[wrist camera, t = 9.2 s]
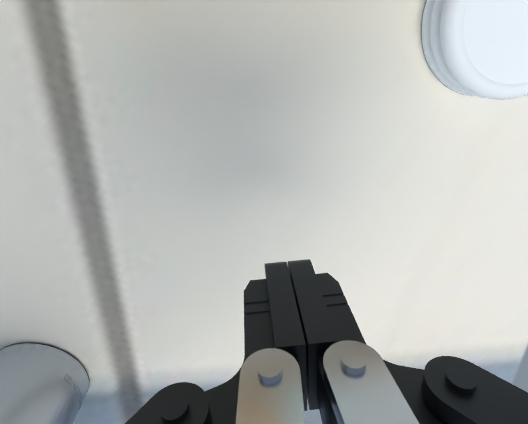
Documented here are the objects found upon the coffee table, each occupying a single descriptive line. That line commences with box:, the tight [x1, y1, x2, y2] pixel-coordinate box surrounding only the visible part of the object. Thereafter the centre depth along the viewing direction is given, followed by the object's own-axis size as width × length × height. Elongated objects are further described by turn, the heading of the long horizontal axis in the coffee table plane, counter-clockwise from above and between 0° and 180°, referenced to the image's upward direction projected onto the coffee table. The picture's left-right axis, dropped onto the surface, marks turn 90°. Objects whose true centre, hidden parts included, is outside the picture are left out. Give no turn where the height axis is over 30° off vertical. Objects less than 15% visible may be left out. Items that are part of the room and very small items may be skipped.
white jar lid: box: [422, 0, 528, 100], centre depth 20 cm, size 10×10×4 cm
